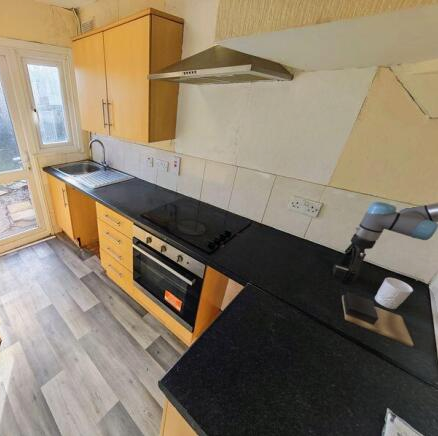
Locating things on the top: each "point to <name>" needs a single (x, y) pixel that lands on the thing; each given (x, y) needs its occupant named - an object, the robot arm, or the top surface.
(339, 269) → the loose pad
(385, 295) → the white cup
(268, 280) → the top surface
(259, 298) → the top surface
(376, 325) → the mount board
